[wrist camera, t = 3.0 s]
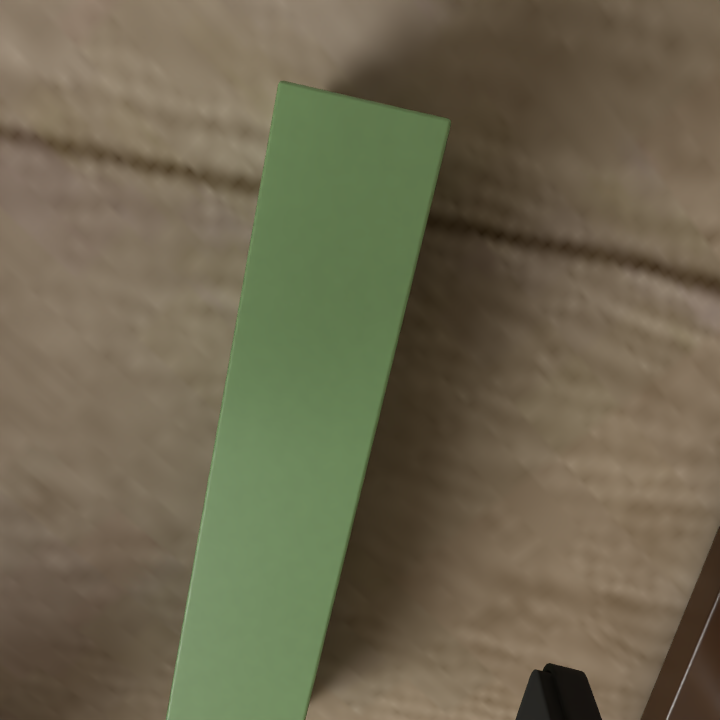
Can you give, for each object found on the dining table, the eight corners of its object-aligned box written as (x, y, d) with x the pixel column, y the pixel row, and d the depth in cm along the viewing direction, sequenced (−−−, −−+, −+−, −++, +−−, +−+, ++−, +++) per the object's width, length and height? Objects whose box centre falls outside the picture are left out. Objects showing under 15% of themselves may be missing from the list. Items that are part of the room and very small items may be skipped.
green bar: (308, 104, 17) (278, 79, 13) (442, 134, 17) (452, 119, 13) (198, 682, 22) (152, 790, 18) (303, 707, 22) (280, 820, 18)
